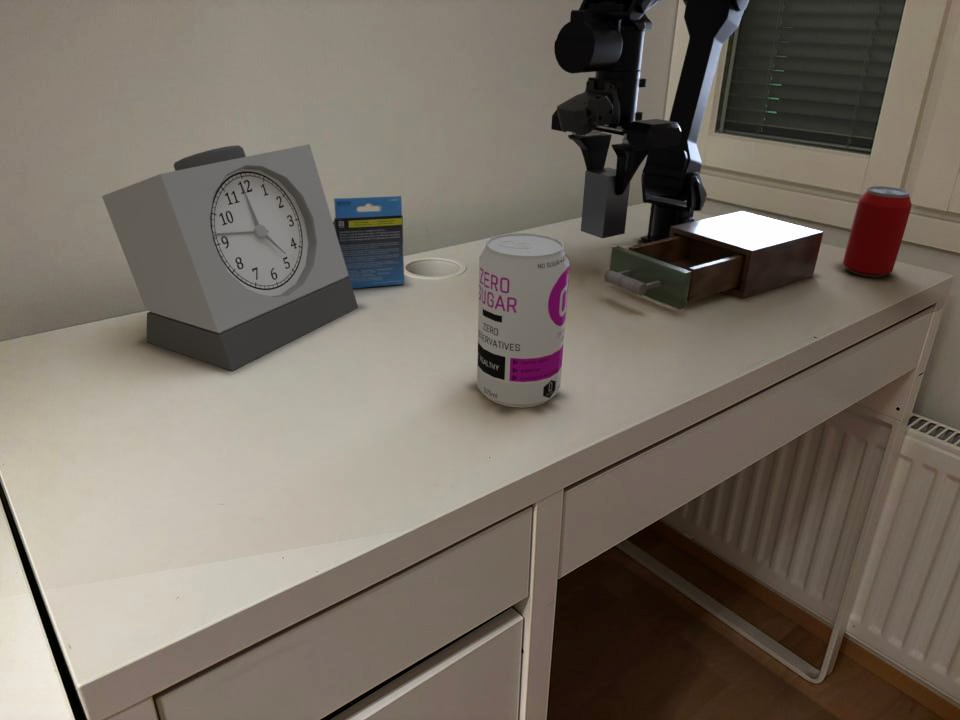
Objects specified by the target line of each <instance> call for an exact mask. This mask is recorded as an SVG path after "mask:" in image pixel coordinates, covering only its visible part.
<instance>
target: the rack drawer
mask: <svg viewBox="0 0 960 720" xmlns="http://www.w3.org/2000/svg"><path fill="white" fill-rule="evenodd" d="M745 258H746V255H744V254H741V253H738V252H734V251H731V250H728V249H725V248H721V247H718V246H715V245H712V244H708V243H705V242H702V241H699V240H695V239H692V238H689V237H686V236H682V235H679V236H675V237H671V238H666V239H662V240H658V241H653V242H646V243H641V244H637V245H632V246H628V248H626V247H623V246H620V245H616V246H612V247H611V253H610V263H609V270H606V272H605V273H604V275H603V279H604V282H606V283H608V284H611V285H612V286H613V285H614V286H616V287H618V288H620V289H623V290H626V291H627V292H631V293H633V294H635V295H638V296H645V297H647V298H649V299H652V300H654V301H657V302H659V303H662V304H664V305H667V306H669V307H672V308H674V309H677V310H678V311H681V310H685V309H686V308H687V303H689V302H693V301H696V300H699V299H702V298H705V297H709V296H713V295H716V294H719V293H722V292H724V291H725V290H729V289H732V288H735V287H738V286H740V284H741V279H742V274H743V269H744V263H745Z"/></svg>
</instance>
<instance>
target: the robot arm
mask: <svg viewBox="0 0 960 720" xmlns="http://www.w3.org/2000/svg"><path fill="white" fill-rule="evenodd" d="M660 1H661V0H582V2H581V3H580V6H579V8H578V9H571V10H570V16H569V17H570V18H569V21H568V22H567V23H566V24H563V26H562V28H560V30H559V32H558V34H557V37H556V39H555V40H554V44H553V46H554V47H553V49H554V56H555V59H556V62H557V64H558V66H559V67H560V68H561V70H563V71H564V72H566V73H569V74H583V73H595V74H594V75H595V76H592V77H590V76H589V77H588V78H587V80H586V83H585V84H586V85H585V90H584V91H583V92H582V93H579V94H575V95H574V96H573V97H571V98H569V99H567V100H565V101H563V102H562V103H560V104H558V105H557V106H556V110H555V111H554V113H552V115H551V128H550V129H551V130H552V131H553V130H554V131H556V132H557V131H558V132H561V133H562V132H563V133H567V132H568V133H571V134H568V135H567V138H568V139H569V140H572V141H573V142H574V143H575V144H576V145H577V146H578V148H579V149H580V151H581V154H582V157H583V161H584V164H585V168H586V171H587V170H594V169H600V168H605V165H606V161H607V157H608V153H609V149H610V145H611V148H612V149H613V152H614V153H615V155H616V167H615V169H616V180H615V193H616V195H622V194H623V193H624V191H625V190H626V188H627V186H628V184H629V183H630V184H631V181H632V179H633V177H634V176H635V174H636V173H637V171H638V170H639V168H640V166H641V165H642V163H643V162H644V160H645V159H646V160H645V163H644V167H643V169H642V173H641V178H640V181H641V196H642V203H644V204H650V206H651V207H650V213H649V220H648V226H647V227H648V229H647V234H646V235H642V236H640V241H643V242H646V243H649V242H653V241H658V240H662V239H666V238H669V235H670V227H671V226H675V225H679V224H684V223H689V222H693V221H696V219H695V217H694V212H700V211H703V207H704V206H705V203H706V199H707V196H708V194H707V193H708V192H707V191H706V188H705V185H704V182H703V180H702V176H701V171H702V165H703V161H702V158H701V155H700V152H699V151H700V150H699V149H698V145H697V142H698V139H699V135H700V131H701V126H702V123H703V119H704V116H705V112H706V108H707V104H708V100H709V97H710V93H711V89H712V85H713V82H714V78H715V74H716V70H717V66H718V62H719V58H720V55H721V51H722V47H723V45H724V43H725V42H726V41H727V40H728V39H729V38H730V37H731V35H733V33H735V31H736V30H737V29H738V28H739V25H740V23H741V20H742V17H743V15H744V11H745V10H746V9H747V7H748V4H749V2H750V0H682V2H683V4H684V5H685V7H684V14H683V20H684V22H685V26H686V30H687V32H688V33H687V34H688V36H689V38H688V44H687V47H686V52H685V55H684V59H683V64H682V67H681V71H680V75H679V79H678V83H677V88H676V91H675V95H674V99H673V104H672V108H671V111H670V115H669V119H668V120H665V119H660V118H653V119H651V118H650V119H643V113H644V112H643V111H637V109H638V99H639V91H640V88H646V87H647V78H642V77H641V74H642V73H641V71H642V65H643V64H642V63H643V54H644V53H643V52H644V46H645V44H644V43H645V37H646V36H645V35H646V31H653V29H654V24H653V23H652V20H650V19H649V18H648V16H647V15H646V12H647V11H648V10H650V9H651V8H653V7H654V6H655V5H656V4H658V3H659V2H660ZM612 135H618V136H623V138H622V141H621V143H615V144H611V141H612V137H613V136H612Z"/></svg>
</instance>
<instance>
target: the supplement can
mask: <svg viewBox="0 0 960 720" xmlns="http://www.w3.org/2000/svg"><path fill="white" fill-rule="evenodd" d="M485 243H486V245H485V246H484V248H483V250H482V252H481V254H479V257H478V266H479V267H478V305H477V306H478V307H477V308H478V310H477V311H478V313H477V314H478V315H477V361H476V362H477V365H476V366H477V367H476V370H477V372H476V383H477V384H476V385H477V386H476V387H477V388H478V390H479V391H480V392H481V394H483V395H484V396H485V398H487V399H488V400H490V401H491V402H493V403H495V404H497V405H500V406H504V407H508V408H518V409H519V408H520V409H522V408H523V409H524V408H534V407H537V406H540V405H543V404H545V403H547V402H548V401H549V400H551V399H552V398H553V397H554V396H556V395H558V392H559V391H560V389H561V384H562V383H561V381H562V371H563V369H562V368H563V356H564V355H563V354H564V343H565V329H566V318H567V314H566V313H567V303H568V292H569V291H568V290H569V277H570V265H571V264H570V261H569V258H568V256H567V253H566V252H565V245H564V243H563V242H562V241H561V240H559V239H557V238H555V237H551V236H548V235H544V234H538V233H529V232H528V233H527V232H515V233H514V232H512V233H511V232H510V233H504V234H498V235H495V236H492V237H490V238H489V239H487V241H485Z"/></svg>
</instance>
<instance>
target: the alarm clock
mask: <svg viewBox="0 0 960 720" xmlns="http://www.w3.org/2000/svg"><path fill="white" fill-rule="evenodd" d="M173 168H174V170H173V171H168V172H164V173H159V174H156V175H154V176H151V177H148V178H146V179H143V180H141V181H138V182H135V183H133V184H130V185H127V186H125V187H121V188H119V189H117V190H114V191H112V192H109V193H106V194H104V195H102V196H101V198H102V200H103V203H104V205H105V209H106V211H107V213H108V217H109V218H110V222H111V224H112V227H113V229H114V232H115V233H116V237H117V239H118V242H119V244H120V247H121V250H122V252H123V255H124V257H125V259H126V262H127V265H128V268H129V270H130V273H131V275H132V278H133V281H134V283H135V285H136V288H137V290H138V293H139V295H140V298H141V301H142V303H143V307H144V308H145V311H147V312H146V337H145V338H146V339H145V341H146V343H150V344H151V345H155V346H158V347H159V348H163V349H166V350H169V351H172V352H176V353H178V354H180V355H184V356H187V357H190V358H193V359H195V360H198V361H201V362H205V363H207V364H211V365H214V366H215V367H216V366H217V367H219V368H222V369H225V370H228V371H231V372H233V371H235V370H237V369H239V368H241V367H243V366H245V365H247V364H249V363H252V362H254V361H255V360H257V359H259V358H261V357H263V356H265V355H267V354H269V353H271V352H274V351H275V350H277V349H279V348H281V347H284V346H285V345H287V344H289V343H291V342H293V341H295V340H297V339H299V338H301V337H303V336H305V335H307V334H309V333H311V332H313V331H315V330H317V329H319V328H321V327H323V326H325V325H327V324H329V323H331V322H333V321H334V320H337V319H339V318H340V317H343V316H345V315H347V314H348V313H351V312H352V311H354V310H356V309H358V308H359V305H358V302H357V299H356V296H355V293H354V289H353V288H352V285H351V281H350V278H348V277H347V276H349V275H348V272H347V268H346V265H345V261H344V258H343V255H342V251H341V248H340V245H339V241H338V238H337V235H336V231H335V228H334V225H333V221H334V220H333V217H332V215H331V212H330V208H329V205H328V201H327V197H326V195H325V191H324V188H323V184H322V181H321V178H320V174H319V171H318V168H317V164H316V161H315V158H314V155H313V151H312V148H311V145H310V143H309V144H303V145H298V146H294V147H293V146H292V147H288V148H283V149H277V150H273V151H268V152H262V153H258V154H253V155H246V152H245V150H244V148H243V147H242V146H240V145H239V144H237V145H228V146H222V147H217V148H213V149H209V150H205V151H202V152H197V153H195V154H192V155H188V156H185V157H182V158H181V159H179V160H177V161H175V162H174V163H173Z"/></svg>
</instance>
